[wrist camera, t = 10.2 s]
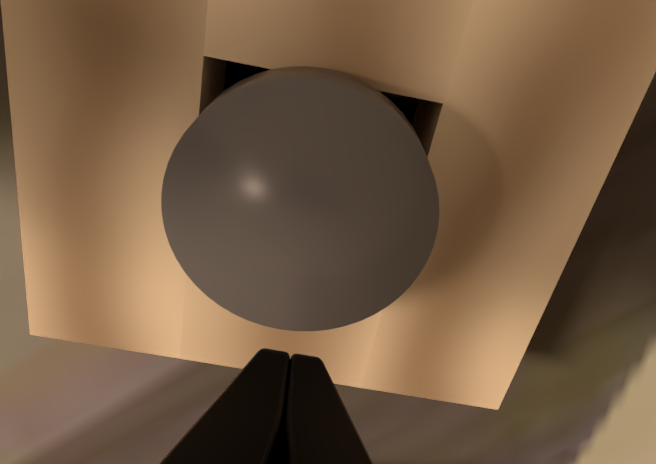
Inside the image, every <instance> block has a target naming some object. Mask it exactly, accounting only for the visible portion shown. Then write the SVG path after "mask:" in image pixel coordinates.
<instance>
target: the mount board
mask: <svg viewBox="0 0 656 464" xmlns="http://www.w3.org/2000/svg"><path fill="white" fill-rule="evenodd" d="M1 11H2V23H3V34H4V45H5V57H6V68H7V79H8V91H9V102H10V113H11V125H12V136H13V147H14V159H15V170H16V181H17V193H18V204H19V215H20V227H21V238H22V249H23V261H24V272H25V283H26V295H27V306H28V317H29V329H30V335H36V336H42V337H49V338H55V339H61V340H67V341H73V342H80V343H86V344H92V345H98V346H105V347H111V348H117V349H123V350H129V351H136V352H142V353H148V354H154V355H160V356H167V357H173V358H179V359H185V360H191V361H198V362H204V363H210V364H216V365H223V366H229V367H235V368H241V369H243V368H244V367H245V366H246V364H247V363H248V362H249V361H250V360H251V359H252V358H253V356H254V355H255V354H256V353H257V352H258V351H259V350H260V349H263V348H267V349H273V350H279V351H285V352H287V353H289V355H290V358H291V356H292V355H293V354H303V355H309V356H315V357H318V358H320V359H321V360H322V361H323V363H324V365H325V367H326V369H327V371H328V373H329V375H330V377H331V379H332V381H333V383H334V384H341V385H347V386H353V387H359V388H365V389H372V390H378V391H384V392H390V393H397V394H403V395H409V396H415V397H421V398H428V399H434V400H440V401H446V402H452V403H459V404H465V405H471V406H477V407H484V408H490V409H496V410H498V409H499V407H500V404H501V402H502V400H503V398H504V396H505V394H506V392H507V389H508V387H509V385H510V383H511V381H512V379H513V377H514V374H515V372H516V370H517V368H518V366H519V364H520V362H521V359H522V357H523V355H524V353H525V351H526V349H527V347H528V344H529V342H530V340H531V338H532V336H533V334H534V332H535V329H536V327H537V325H538V323H539V321H540V319H541V317H542V314H543V312H544V310H545V308H546V306H547V304H548V302H549V299H550V297H551V295H552V293H553V291H554V289H555V287H556V284H557V282H558V280H559V278H560V276H561V274H562V271H563V269H564V267H565V265H566V263H567V261H568V259H569V256H570V254H571V252H572V250H573V248H574V246H575V244H576V241H577V239H578V237H579V235H580V233H581V231H582V229H583V226H584V224H585V222H586V220H587V218H588V216H589V214H590V211H591V209H592V207H593V205H594V203H595V201H596V199H597V196H598V194H599V192H600V190H601V188H602V186H603V184H604V181H605V179H606V177H607V175H608V173H609V171H610V169H611V166H612V164H613V162H614V160H615V158H616V156H617V154H618V151H619V149H620V147H621V145H622V143H623V141H624V139H625V136H626V134H627V132H628V130H629V128H630V126H631V124H632V121H633V119H634V117H635V115H636V113H637V111H638V108H639V106H640V104H641V102H642V100H643V98H644V96H645V93H646V91H647V89H648V87H649V85H650V83H651V81H652V78H653V76H654V74H655V72H656V0H1ZM227 61H232V62H237V63H242V64H247V65H252V66H257V67H262V68H267V69H277V68H284V67H300V66H309V67H317V68H325V69H330V70H333V71H337V72H341V73H344V74H347V75H349V76H352V77H354V78H357V79H359V80H361V81H363V82H365V83H367V84H368V85H370V86H372V87H373V88H375V89H377V90H378V91H383V92H388V93H393V94H398V95H403V96H408V97H413V98H418V99H419V100H418V104H417V107H416V111H415V115H414V118H413V122H412V126H413V128H414V130H415V132H416V134H417V136H418V138H419V139H420V141H421V144H422V146H423V149H424V151H425V153H426V156H427V158H428V161H429V163H430V166H431V169H432V172H433V175H434V177H435V180H436V185H437V191H438V196H439V223H438V231H437V235H436V239H435V243H434V246H433V249H432V251H431V254H430V256H429V259H428V261H427V263H426V264H425V266H424V268H423V270H422V271H421V273H420V274H419V276H418V277H417V278H416V280H415V281H414V282H413V284H412V285H411V286H410V287H409V288H408V289H407V290H406V291H405V292H404V293H403V294H402V295H401V296H400V297H399V298H398V299H397V300H395V301H394V302H393V303H391V304H390V305H389V306H388V307H386V308H384V309H383V310H381V311H379V312H378V313H376V314H374V315H373V316H370V317H368V318H366V319H364V320H362V321H359V322H356V323H353V324H350V325H347V326H344V327H339V328H335V329H330V330H321V331H289V330H280V329H275V328H271V327H266V326H263V325H260V324H257V323H254V322H251V321H248V320H246V319H243V318H241V317H239V316H237V315H235V314H233V313H231V312H229V311H228V310H226V309H224V308H223V307H221V306H219V305H218V304H217V303H215V302H214V301H213V300H211V299H210V298H209V297H208V296H206V295H205V294H204V293H203V292H202V291H201V290H200V289H199V288H198V287H197V286H196V285H195V284H194V283H193V282H192V280H191V279H190V278H189V277H188V276H187V274H186V273H185V272H184V270H183V269H182V267H181V266H180V264H179V262H178V261H177V259H176V257H175V255H174V253H173V251H172V249H171V247H170V245H169V242H168V239H167V236H166V232H165V229H164V224H163V218H162V210H161V193H162V185H163V178H164V175H165V171H166V168H167V164H168V161H169V159H170V157H171V155H172V152H173V150H174V148H175V146H176V145H177V143H178V142H179V140H180V139H181V137H182V135H183V134H184V132H185V131H186V130H187V129H188V128H189V127H190V125H191V124H192V123H193V122H194V121H195V120H196V119H197V117H198V116H199V115H200V114H201V113H202V112H203V111H204V109H205V108H206V107H207V106H208V105H209V104H210V103H211V102H212V101H213V100H214V99H215V98H216V97H217V96H219V95H220V94H221V93H222V92H223V91H224V84H225V74H226V64H227Z"/></svg>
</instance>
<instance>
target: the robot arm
mask: <svg viewBox="0 0 656 464" xmlns="http://www.w3.org/2000/svg"><path fill="white" fill-rule="evenodd" d="M160 464H373V462H372V460H371V458H370V456H369V454H368V452H367V450H366V448H365V446H364V444H363V442H362V440H361V438H360V436H359V434H358V432H357V430H356V428H355V426H354V424H353V422H352V420H351V418H350V416H349V414H348V412H347V409H346V407H345V405H344V403H343V401H342V399H341V397H340V395H339V393H338V391H337V389H336V387H335V385H334V383H333V381H332V379H331V377H330V375H329V373H328V371H327V369H326V367H325V365H324V363H323V361H322V360H321V359H320V358H318V357H315V356H309V355H303V354H293V355H292V356H291V358H290V355H289V353H287V352H285V351H279V350H273V349H267V348H263V349H260V350H259V351H258V352H257V353H256V354H255V355H254V356H253V358H252V359H251V360H250V361H249V362H248V363H247V364H246V366H245V367H244V368H243V369H242V370H241V371H240V372H239V374H238V375H237V376H236V377H235V378H234V379H233V380H232V382H231V383H230V384H229V385H228V386H227V387H226V388H225V389H224V391H223V392H222V393H221V394H220V395H219V396H218V397H217V399H216V400H215V401H214V402H213V403H212V404H211V405H210V407H209V408H208V409H207V410H206V411H205V412H204V413H203V415H202V416H201V417H200V418H199V419H198V420H197V421H196V423H195V424H194V425H193V426H192V427H191V428H190V429H189V431H188V432H187V433H186V434H185V435H184V436H183V437H182V439H181V440H180V441H179V442H178V443H177V444H176V445H175V447H174V448H173V449H172V450H171V451H170V452H169V453H168V455H167V456H166V457H165V458H164V459H163V460H162V461H161V463H160Z"/></svg>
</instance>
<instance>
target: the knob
mask: <svg viewBox="0 0 656 464" xmlns="http://www.w3.org/2000/svg"><path fill="white" fill-rule="evenodd" d="M161 210H162V218H163V224H164V229H165V232H166V236H167V239H168V242H169V245H170V247H171V249H172V251H173V253H174V255H175V257H176V259H177V261H178V262H179V264H180V266H181V267H182V269H183V270H184V272H185V273H186V274H187V276H188V277H189V278H190V279H191V280H192V282H193V283H194V284H195V285H196V286H197V287H198V288H199V289H200V290H201V291H202V292H203V293H204V294H205V295H206V296H208V297H209V298H210V299H211V300H213V301H214V302H215V303H217V304H218V305H219V306H221V307H223V308H224V309H226V310H228V311H229V312H231V313H233V314H235V315H237V316H239V317H241V318H243V319H246V320H248V321H251V322H254V323H257V324H260V325H263V326H266V327H271V328H275V329H280V330H289V331H321V330H330V329H335V328H339V327H344V326H347V325H350V324H353V323H356V322H359V321H362V320H364V319H366V318H368V317H370V316H373V315H374V314H376V313H378V312H379V311H381V310H383V309H384V308H386V307H388V306H389V305H390V304H391V303H393V302H394V301H395V300H397V299H398V298H399V297H400V296H401V295H402V294H403V293H404V292H405V291H406V290H407V289H408V288H409V287H410V286H411V285H412V284H413V282H414V281H415V280H416V278H417V277H418V276H419V274H420V273H421V271H422V270H423V268H424V266H425V264H426V263H427V261H428V259H429V256H430V254H431V251H432V249H433V246H434V243H435V239H436V235H437V231H438V223H439V196H438V191H437V185H436V180H435V177H434V175H433V172H432V169H431V166H430V163H429V161H428V158H427V156H426V153H425V151H424V149H423V146H422V144H421V141H420V139H419V138H418V136H417V134H416V132H415V130H414V128H413V126H412V125H411V124H410V122H409V121H408V119H407V118H406V117H405V115H404V114H403V113H402V112H401V111H400V110H399V109H398V107H397V106H396V105H395V104H394V103H393V102H392V101H391V100H389V99H388V98H387V97H386V96H384V95H383V94H382V93H381V92H379V91H378V90H377V89H375V88H373V87H372V86H370V85H368V84H367V83H365V82H363V81H361V80H359V79H357V78H354V77H352V76H349V75H347V74H344V73H341V72H337V71H333V70H330V69H325V68H317V67H309V66H300V67H284V68H277V69H271V70H268V71H264V72H261V73H257V74H254V75H252V76H250V77H248V78H245V79H243V80H241V81H239V82H237V83H236V84H234V85H232V86H231V87H229V88H228V89H226V90H224V91H223V92H222V93H221V94H220V95H219V96H217V97H216V98H215V99H214V100H213V101H212V102H211V103H210V104H209V105H208V106H207V107H206V108H205V109H204V111H203V112H202V113H201V114H200V115H199V116H198V117H197V119H196V120H195V121H194V122H193V123H192V124H191V125H190V127H189V128H188V129H187V130H186V131H185V132H184V134H183V135H182V137H181V139H180V140H179V142H178V143H177V145H176V146H175V148H174V150H173V152H172V155H171V157H170V159H169V161H168V164H167V168H166V171H165V175H164V178H163V185H162V193H161Z"/></svg>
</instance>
